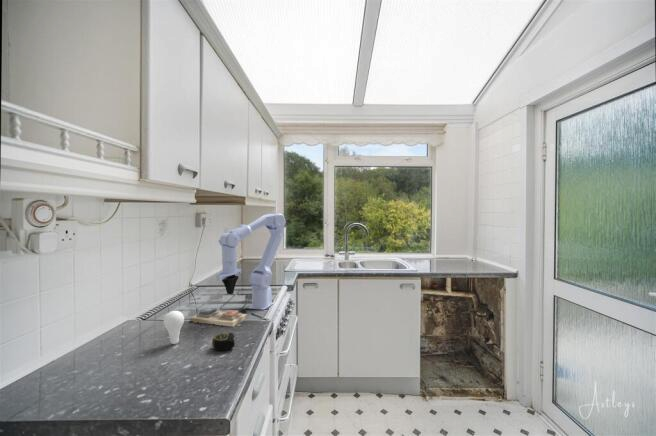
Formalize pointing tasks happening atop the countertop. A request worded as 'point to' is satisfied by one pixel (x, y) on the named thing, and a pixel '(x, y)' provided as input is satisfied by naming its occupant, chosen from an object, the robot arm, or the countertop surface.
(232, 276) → the robot arm
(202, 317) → the button mount
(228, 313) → the button terracotta
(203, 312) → the button charcoal
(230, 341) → the tape measure
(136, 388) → the countertop surface
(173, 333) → the lightbulb
